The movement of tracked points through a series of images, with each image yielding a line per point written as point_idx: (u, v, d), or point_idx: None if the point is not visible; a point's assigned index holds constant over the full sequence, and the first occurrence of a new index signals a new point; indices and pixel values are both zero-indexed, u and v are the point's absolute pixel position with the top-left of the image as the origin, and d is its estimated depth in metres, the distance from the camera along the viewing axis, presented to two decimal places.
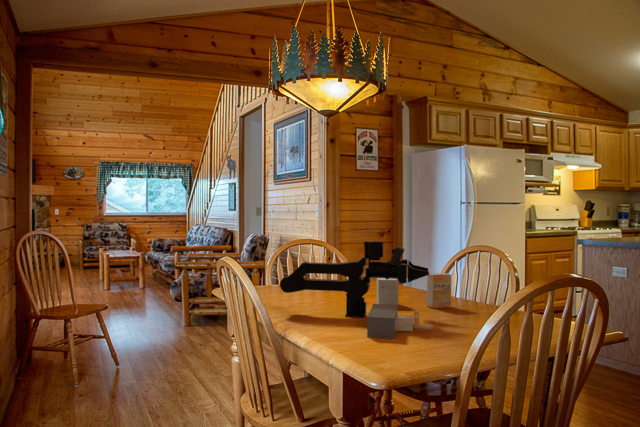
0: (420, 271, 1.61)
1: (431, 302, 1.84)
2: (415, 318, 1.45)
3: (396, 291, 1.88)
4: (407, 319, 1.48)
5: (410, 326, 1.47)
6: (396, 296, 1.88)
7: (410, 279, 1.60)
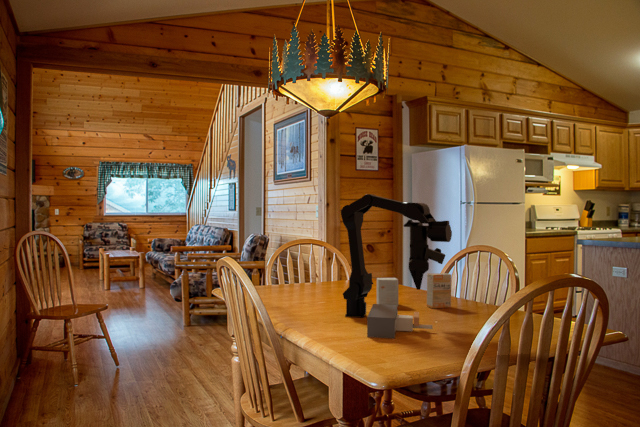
0: (420, 281, 1.54)
1: (431, 302, 1.84)
2: (415, 318, 1.45)
3: (396, 291, 1.88)
4: (407, 319, 1.48)
5: (410, 326, 1.47)
6: (396, 296, 1.88)
7: (412, 271, 1.53)
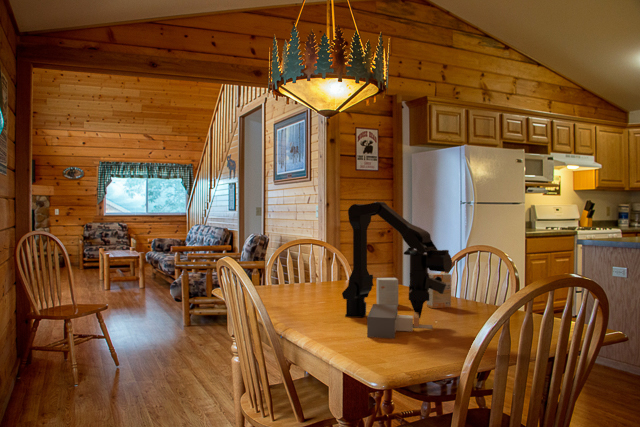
0: (420, 310, 1.52)
1: (431, 302, 1.84)
2: (415, 318, 1.45)
3: (396, 291, 1.88)
4: (407, 319, 1.48)
5: (410, 326, 1.47)
6: (396, 296, 1.88)
7: (412, 300, 1.52)
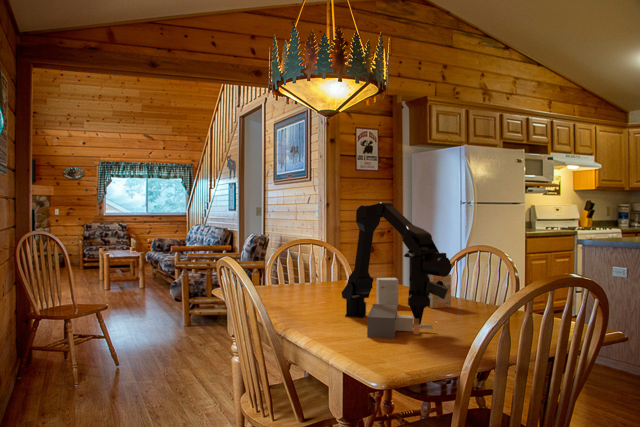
0: (420, 316, 1.44)
1: (431, 302, 1.84)
2: (415, 325, 1.36)
3: (396, 291, 1.88)
4: (407, 319, 1.48)
5: (410, 326, 1.47)
6: (396, 296, 1.88)
7: (411, 305, 1.43)
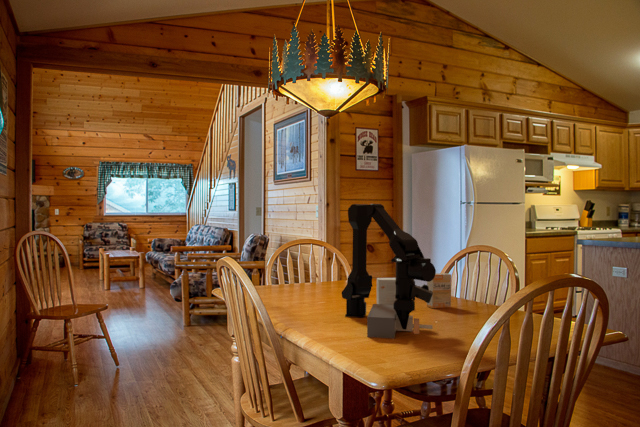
0: (406, 320, 1.46)
1: (431, 302, 1.84)
2: (415, 325, 1.36)
3: None
4: None
5: (410, 326, 1.47)
6: None
7: (397, 310, 1.46)
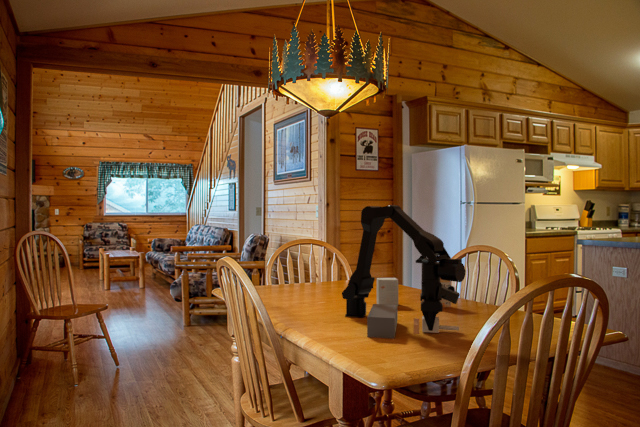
0: (432, 322, 1.45)
1: None
2: (415, 325, 1.36)
3: (396, 291, 1.88)
4: None
5: (436, 327, 1.46)
6: (396, 296, 1.88)
7: (424, 311, 1.44)
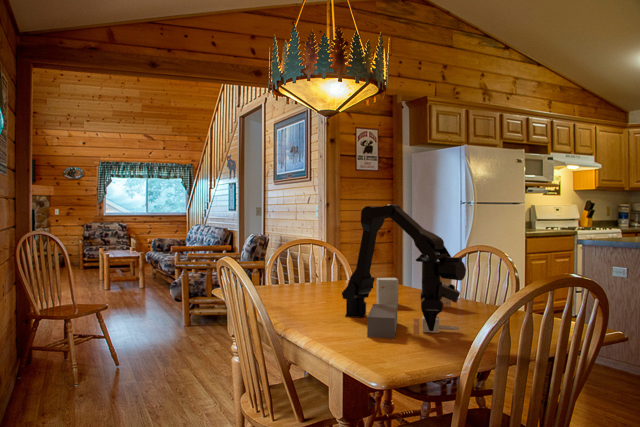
0: (433, 322, 1.43)
1: None
2: (415, 325, 1.36)
3: (396, 291, 1.88)
4: None
5: (436, 327, 1.46)
6: (396, 296, 1.88)
7: (424, 311, 1.42)
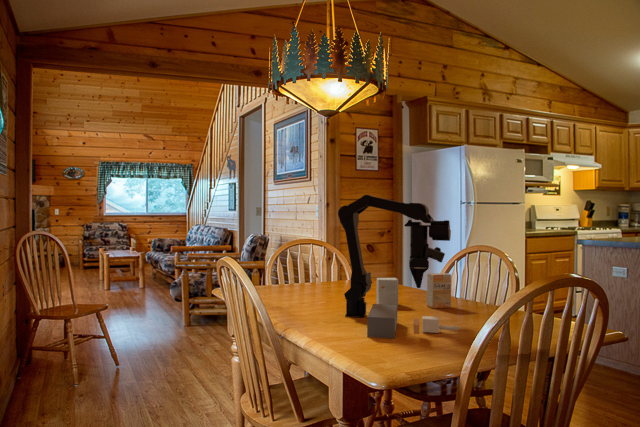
0: (420, 280, 1.57)
1: (431, 302, 1.84)
2: (415, 325, 1.36)
3: (396, 291, 1.88)
4: (433, 320, 1.46)
5: (436, 327, 1.46)
6: (396, 296, 1.88)
7: (412, 270, 1.56)
